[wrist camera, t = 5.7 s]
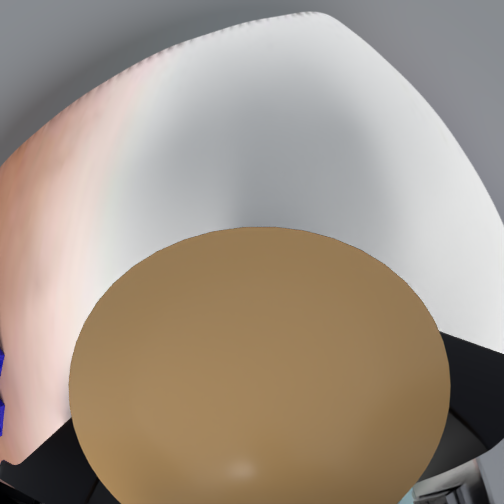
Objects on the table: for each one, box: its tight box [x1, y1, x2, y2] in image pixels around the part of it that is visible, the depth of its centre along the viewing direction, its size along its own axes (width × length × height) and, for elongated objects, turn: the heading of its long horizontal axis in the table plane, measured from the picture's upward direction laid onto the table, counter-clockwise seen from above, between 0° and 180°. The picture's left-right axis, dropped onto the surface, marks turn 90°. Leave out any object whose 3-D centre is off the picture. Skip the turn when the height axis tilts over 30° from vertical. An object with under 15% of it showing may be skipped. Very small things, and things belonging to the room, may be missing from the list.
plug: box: [69, 227, 451, 504], centre depth 8 cm, size 4×4×13 cm
